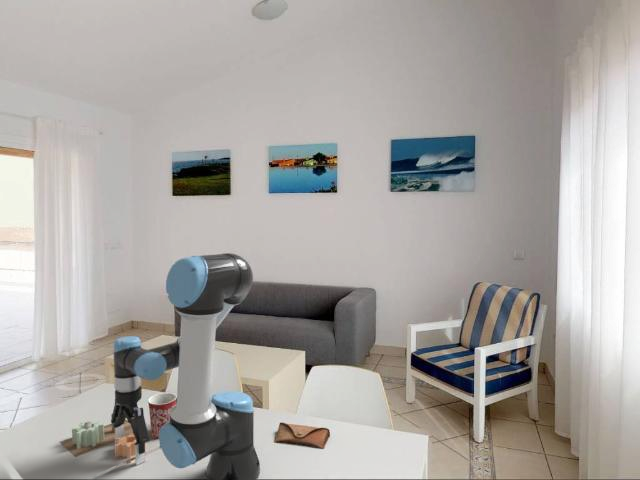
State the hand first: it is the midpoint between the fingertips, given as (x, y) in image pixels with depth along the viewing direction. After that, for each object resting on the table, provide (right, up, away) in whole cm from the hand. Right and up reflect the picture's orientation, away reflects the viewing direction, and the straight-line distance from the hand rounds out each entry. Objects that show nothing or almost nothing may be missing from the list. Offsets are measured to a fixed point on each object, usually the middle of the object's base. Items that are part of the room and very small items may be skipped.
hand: (129, 454), depth 135 cm
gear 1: (-16, +2, +5) cm, 17 cm away
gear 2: (0, 0, 0) cm, 0 cm away
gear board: (-13, 0, +9) cm, 15 cm away
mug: (+7, 0, +12) cm, 14 cm away
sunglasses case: (+53, 0, +10) cm, 54 cm away
